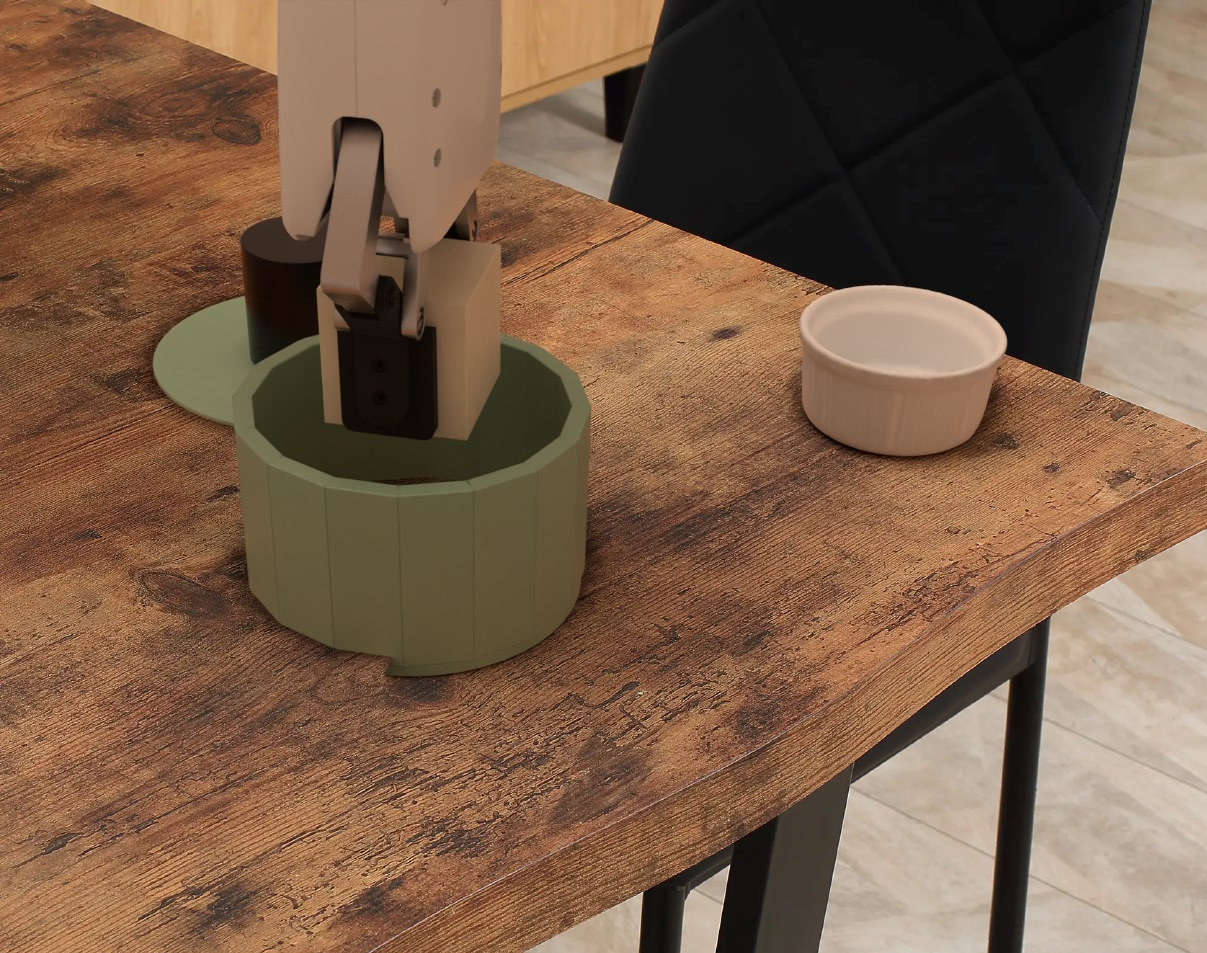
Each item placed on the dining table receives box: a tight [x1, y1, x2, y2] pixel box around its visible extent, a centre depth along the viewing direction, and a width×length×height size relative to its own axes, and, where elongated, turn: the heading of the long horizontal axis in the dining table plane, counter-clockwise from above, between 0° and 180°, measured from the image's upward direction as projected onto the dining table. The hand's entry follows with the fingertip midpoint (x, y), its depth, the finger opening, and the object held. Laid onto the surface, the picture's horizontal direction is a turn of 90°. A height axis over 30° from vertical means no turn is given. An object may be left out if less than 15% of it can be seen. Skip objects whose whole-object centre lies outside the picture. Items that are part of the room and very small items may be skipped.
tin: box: [232, 332, 593, 678], centre depth 63 cm, size 12×12×8 cm
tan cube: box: [317, 230, 502, 441], centre depth 59 cm, size 5×5×5 cm
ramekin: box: [798, 284, 1008, 457], centre depth 75 cm, size 9×9×4 cm
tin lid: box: [152, 215, 329, 428], centre depth 76 cm, size 13×13×7 cm
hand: (413, 386), depth 60 cm, fingers closed on tan cube, 5 cm apart
